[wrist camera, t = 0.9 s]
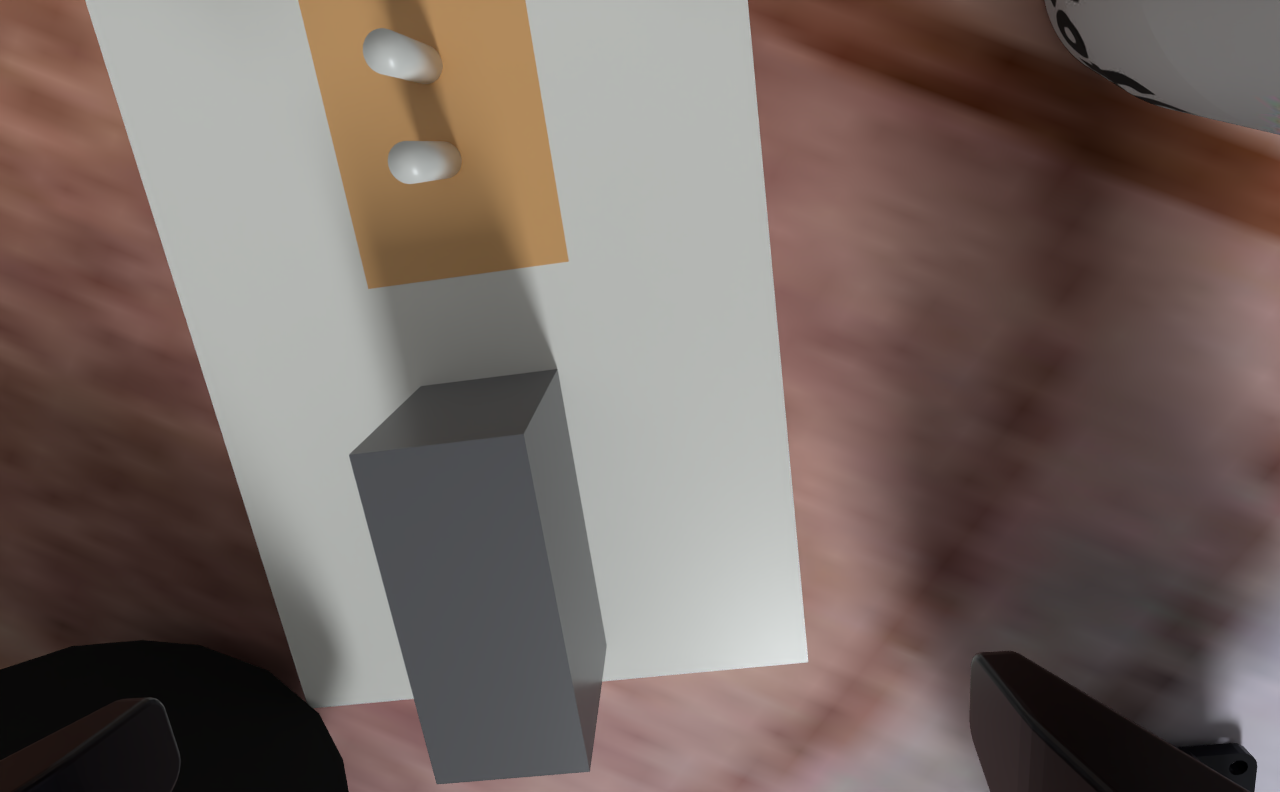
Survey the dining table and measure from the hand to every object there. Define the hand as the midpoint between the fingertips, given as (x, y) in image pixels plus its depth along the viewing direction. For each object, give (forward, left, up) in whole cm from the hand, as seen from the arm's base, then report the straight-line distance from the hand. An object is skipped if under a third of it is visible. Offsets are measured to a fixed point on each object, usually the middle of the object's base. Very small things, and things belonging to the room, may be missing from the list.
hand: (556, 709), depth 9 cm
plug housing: (-3, +3, -11) cm, 12 cm away
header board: (+3, +3, -12) cm, 13 cm away
